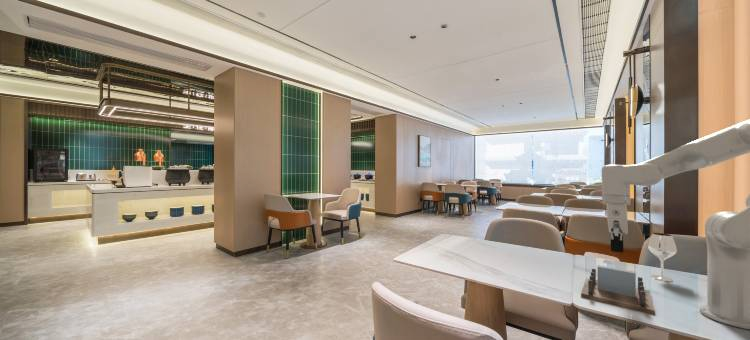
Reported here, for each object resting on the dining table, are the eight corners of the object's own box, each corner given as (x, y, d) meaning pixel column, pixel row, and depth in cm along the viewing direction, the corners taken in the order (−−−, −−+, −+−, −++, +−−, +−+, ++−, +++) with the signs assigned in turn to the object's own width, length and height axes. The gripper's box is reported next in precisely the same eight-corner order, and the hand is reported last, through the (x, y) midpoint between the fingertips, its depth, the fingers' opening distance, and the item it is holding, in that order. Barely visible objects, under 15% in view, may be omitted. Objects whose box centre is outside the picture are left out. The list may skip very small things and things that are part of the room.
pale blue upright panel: (635, 295, 95) (635, 271, 95) (635, 297, 94) (635, 273, 94) (597, 287, 102) (597, 265, 102) (597, 289, 100) (597, 266, 100)
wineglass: (663, 275, 118) (663, 232, 118) (683, 282, 110) (683, 237, 110) (642, 274, 119) (642, 232, 119) (660, 282, 110) (660, 236, 111)
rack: (649, 294, 99) (649, 278, 99) (654, 314, 85) (654, 295, 85) (586, 280, 111) (586, 266, 111) (581, 296, 97) (580, 280, 97)
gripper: (631, 202, 89) (632, 256, 89) (629, 198, 102) (631, 245, 102) (600, 201, 94) (602, 252, 94) (603, 197, 107) (604, 242, 107)
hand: (617, 248), depth 98 cm, fingers open, 9 cm apart
